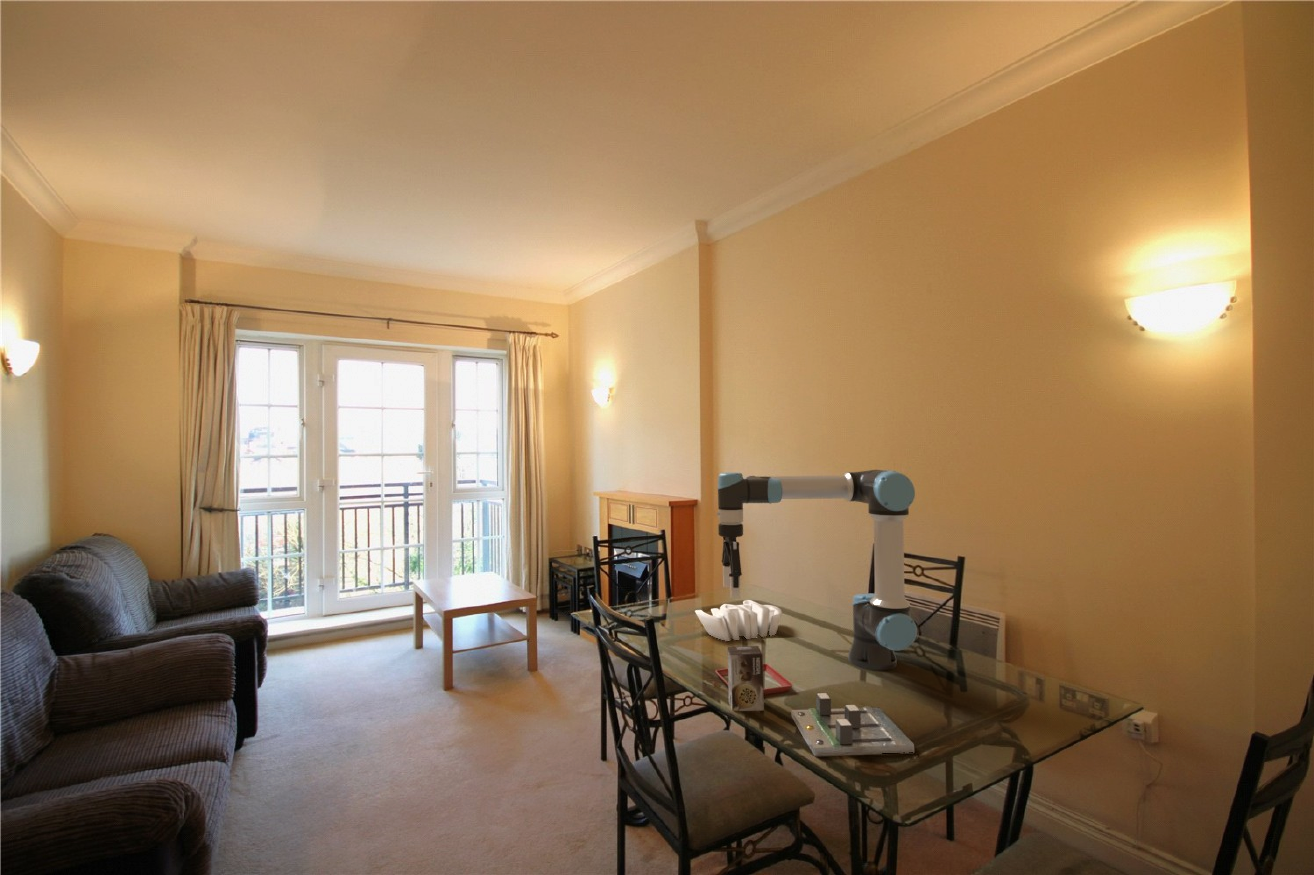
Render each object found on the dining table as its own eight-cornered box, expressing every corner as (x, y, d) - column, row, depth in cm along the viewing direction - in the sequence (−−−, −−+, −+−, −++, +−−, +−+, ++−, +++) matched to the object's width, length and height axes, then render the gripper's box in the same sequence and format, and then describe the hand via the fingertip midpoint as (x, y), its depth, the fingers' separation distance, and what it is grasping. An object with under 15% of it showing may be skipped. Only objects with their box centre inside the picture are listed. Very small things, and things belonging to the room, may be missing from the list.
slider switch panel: (878, 714, 160) (878, 705, 160) (914, 752, 140) (914, 741, 140) (791, 717, 159) (791, 707, 159) (814, 756, 139) (814, 745, 139)
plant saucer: (737, 703, 169) (737, 692, 169) (714, 679, 186) (714, 669, 186) (794, 696, 174) (794, 684, 174) (766, 673, 191) (766, 663, 191)
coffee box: (759, 701, 169) (758, 645, 169) (764, 712, 163) (763, 653, 163) (727, 702, 169) (727, 646, 169) (731, 712, 162) (730, 653, 163)
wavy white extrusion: (707, 644, 219) (707, 615, 219) (692, 631, 234) (692, 604, 235) (792, 635, 228) (792, 608, 228) (772, 623, 244) (772, 597, 244)
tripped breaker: (856, 722, 151) (856, 704, 152) (860, 727, 148) (860, 710, 149) (844, 722, 151) (844, 705, 151) (849, 728, 148) (848, 710, 148)
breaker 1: (827, 709, 159) (827, 693, 159) (831, 714, 156) (830, 697, 156) (816, 710, 159) (816, 693, 159) (819, 715, 156) (819, 698, 156)
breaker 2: (847, 737, 144) (847, 718, 144) (852, 743, 141) (852, 724, 141) (835, 737, 144) (835, 719, 144) (840, 743, 141) (840, 725, 141)
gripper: (712, 518, 193) (713, 583, 193) (725, 528, 168) (725, 603, 168) (735, 517, 194) (736, 582, 193) (751, 528, 169) (752, 603, 168)
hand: (731, 592), depth 181 cm, fingers open, 13 cm apart
